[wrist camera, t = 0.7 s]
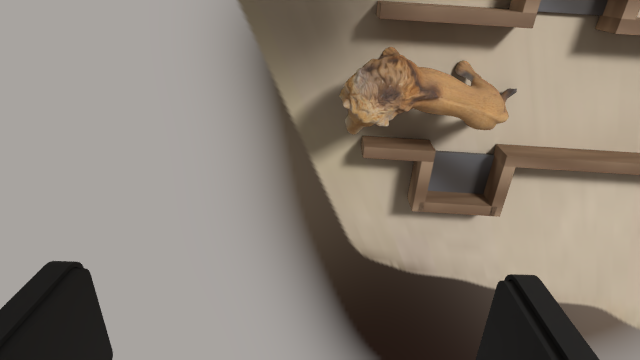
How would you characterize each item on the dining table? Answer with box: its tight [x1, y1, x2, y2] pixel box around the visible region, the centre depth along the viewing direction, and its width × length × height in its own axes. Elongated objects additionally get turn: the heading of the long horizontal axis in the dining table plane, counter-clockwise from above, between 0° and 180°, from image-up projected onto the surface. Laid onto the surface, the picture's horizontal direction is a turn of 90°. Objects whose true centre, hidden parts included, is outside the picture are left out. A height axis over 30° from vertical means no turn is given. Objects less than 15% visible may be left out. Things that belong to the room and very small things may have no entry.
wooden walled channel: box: [361, 0, 640, 216], centre depth 31 cm, size 22×35×5 cm, turn 87°
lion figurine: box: [339, 47, 517, 134], centre depth 29 cm, size 15×5×9 cm, turn 86°
